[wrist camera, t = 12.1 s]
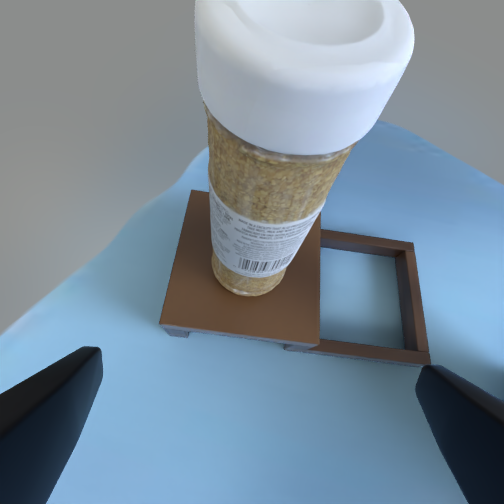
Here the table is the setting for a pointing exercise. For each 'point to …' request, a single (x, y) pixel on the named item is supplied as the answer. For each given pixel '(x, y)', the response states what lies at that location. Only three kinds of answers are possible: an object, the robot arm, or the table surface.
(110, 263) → the table surface
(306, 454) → the table surface
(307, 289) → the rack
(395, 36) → the sprinkles bottle
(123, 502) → the table surface
